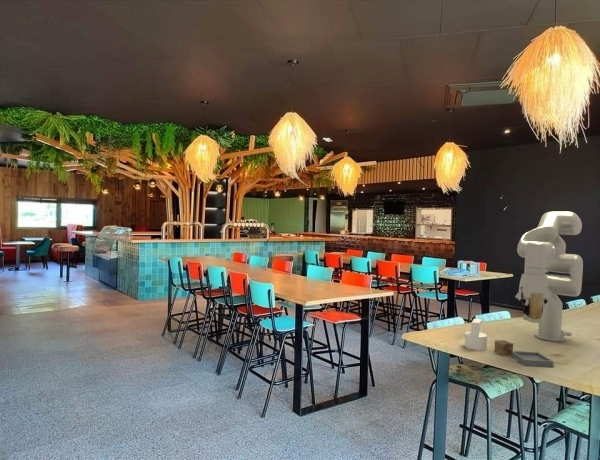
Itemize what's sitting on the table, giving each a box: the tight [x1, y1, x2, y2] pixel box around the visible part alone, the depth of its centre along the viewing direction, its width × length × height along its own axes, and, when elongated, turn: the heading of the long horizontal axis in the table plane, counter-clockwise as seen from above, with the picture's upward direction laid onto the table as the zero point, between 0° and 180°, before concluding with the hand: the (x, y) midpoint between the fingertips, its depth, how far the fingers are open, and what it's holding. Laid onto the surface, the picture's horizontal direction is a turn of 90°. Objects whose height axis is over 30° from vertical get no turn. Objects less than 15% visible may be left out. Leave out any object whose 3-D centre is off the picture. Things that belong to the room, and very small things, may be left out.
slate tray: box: [510, 350, 554, 368], centre depth 162 cm, size 11×11×2 cm
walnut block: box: [493, 339, 514, 357], centre depth 171 cm, size 5×5×5 cm
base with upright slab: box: [464, 318, 488, 351], centre depth 179 cm, size 9×9×12 cm
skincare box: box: [522, 293, 543, 324], centre depth 168 cm, size 6×4×12 cm
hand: (532, 314), depth 168 cm, fingers closed on skincare box, 4 cm apart
